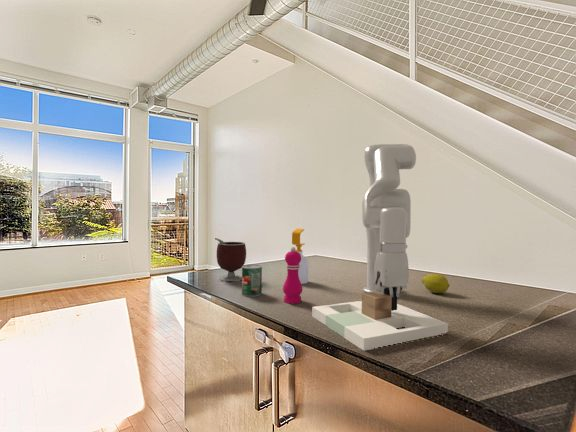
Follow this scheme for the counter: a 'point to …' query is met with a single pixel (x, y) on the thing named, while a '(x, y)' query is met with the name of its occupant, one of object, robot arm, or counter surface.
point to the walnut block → (376, 305)
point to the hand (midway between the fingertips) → (391, 308)
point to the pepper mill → (292, 278)
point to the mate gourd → (231, 258)
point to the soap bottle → (304, 261)
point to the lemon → (436, 283)
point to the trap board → (377, 325)
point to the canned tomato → (251, 280)
